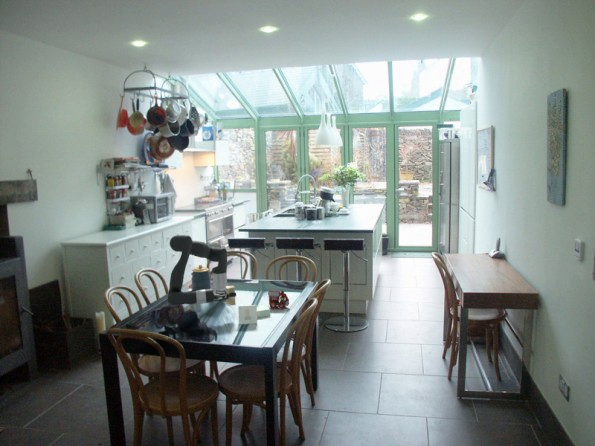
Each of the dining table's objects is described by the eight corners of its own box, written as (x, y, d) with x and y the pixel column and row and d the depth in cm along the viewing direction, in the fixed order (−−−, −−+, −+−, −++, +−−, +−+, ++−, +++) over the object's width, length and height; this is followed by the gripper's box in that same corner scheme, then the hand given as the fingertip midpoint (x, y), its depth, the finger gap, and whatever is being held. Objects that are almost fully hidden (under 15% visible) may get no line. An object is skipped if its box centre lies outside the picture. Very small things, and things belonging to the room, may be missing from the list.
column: (227, 305, 275) (226, 288, 274) (226, 303, 279) (225, 286, 278) (235, 304, 276) (234, 287, 275) (234, 302, 281) (233, 285, 279)
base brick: (257, 318, 280) (257, 311, 280) (252, 314, 287) (251, 307, 287) (270, 315, 284) (270, 309, 283) (264, 312, 291) (264, 305, 290)
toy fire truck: (287, 309, 294) (287, 292, 293) (267, 309, 296) (266, 292, 294) (289, 306, 301) (289, 289, 299) (269, 305, 303) (269, 289, 301)
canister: (195, 287, 349) (194, 262, 346) (213, 287, 347) (212, 262, 345) (189, 292, 336) (187, 266, 334) (207, 292, 334) (206, 267, 332)
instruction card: (238, 324, 269) (238, 306, 268) (238, 322, 272) (238, 304, 271) (257, 323, 270) (256, 305, 269) (257, 321, 273) (256, 304, 272)
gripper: (205, 293, 266) (237, 290, 270) (202, 286, 279) (232, 283, 284) (206, 306, 267) (237, 303, 272) (203, 299, 280) (233, 296, 285)
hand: (235, 293), depth 278 cm, fingers closed on column, 4 cm apart
